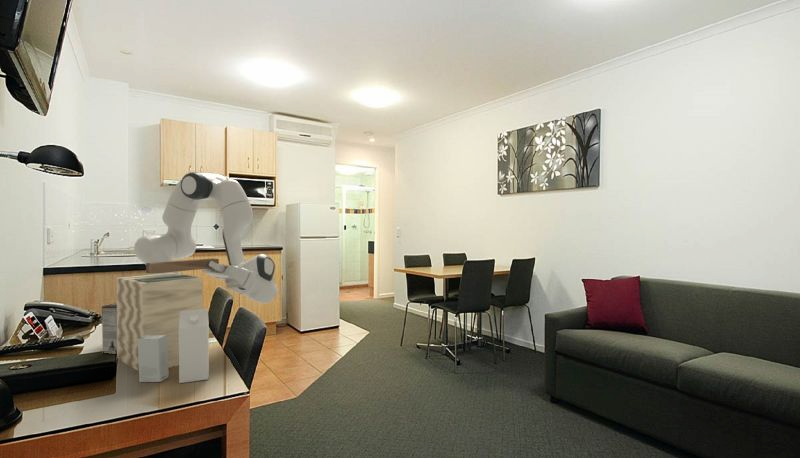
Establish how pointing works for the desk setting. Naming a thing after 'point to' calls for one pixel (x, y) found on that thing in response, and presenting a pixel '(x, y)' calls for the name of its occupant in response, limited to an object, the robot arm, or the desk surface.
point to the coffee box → (109, 327)
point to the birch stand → (153, 311)
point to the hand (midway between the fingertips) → (204, 262)
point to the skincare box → (153, 358)
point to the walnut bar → (178, 265)
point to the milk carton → (193, 345)
